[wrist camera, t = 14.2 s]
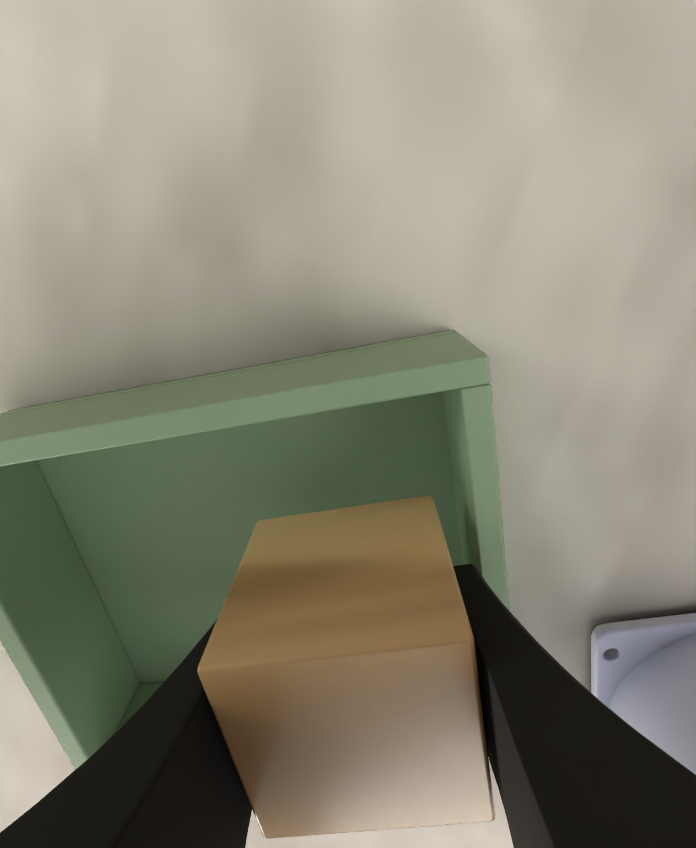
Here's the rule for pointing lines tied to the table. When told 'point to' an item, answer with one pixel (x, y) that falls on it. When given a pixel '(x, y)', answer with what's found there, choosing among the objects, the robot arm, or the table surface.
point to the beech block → (350, 675)
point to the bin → (217, 504)
